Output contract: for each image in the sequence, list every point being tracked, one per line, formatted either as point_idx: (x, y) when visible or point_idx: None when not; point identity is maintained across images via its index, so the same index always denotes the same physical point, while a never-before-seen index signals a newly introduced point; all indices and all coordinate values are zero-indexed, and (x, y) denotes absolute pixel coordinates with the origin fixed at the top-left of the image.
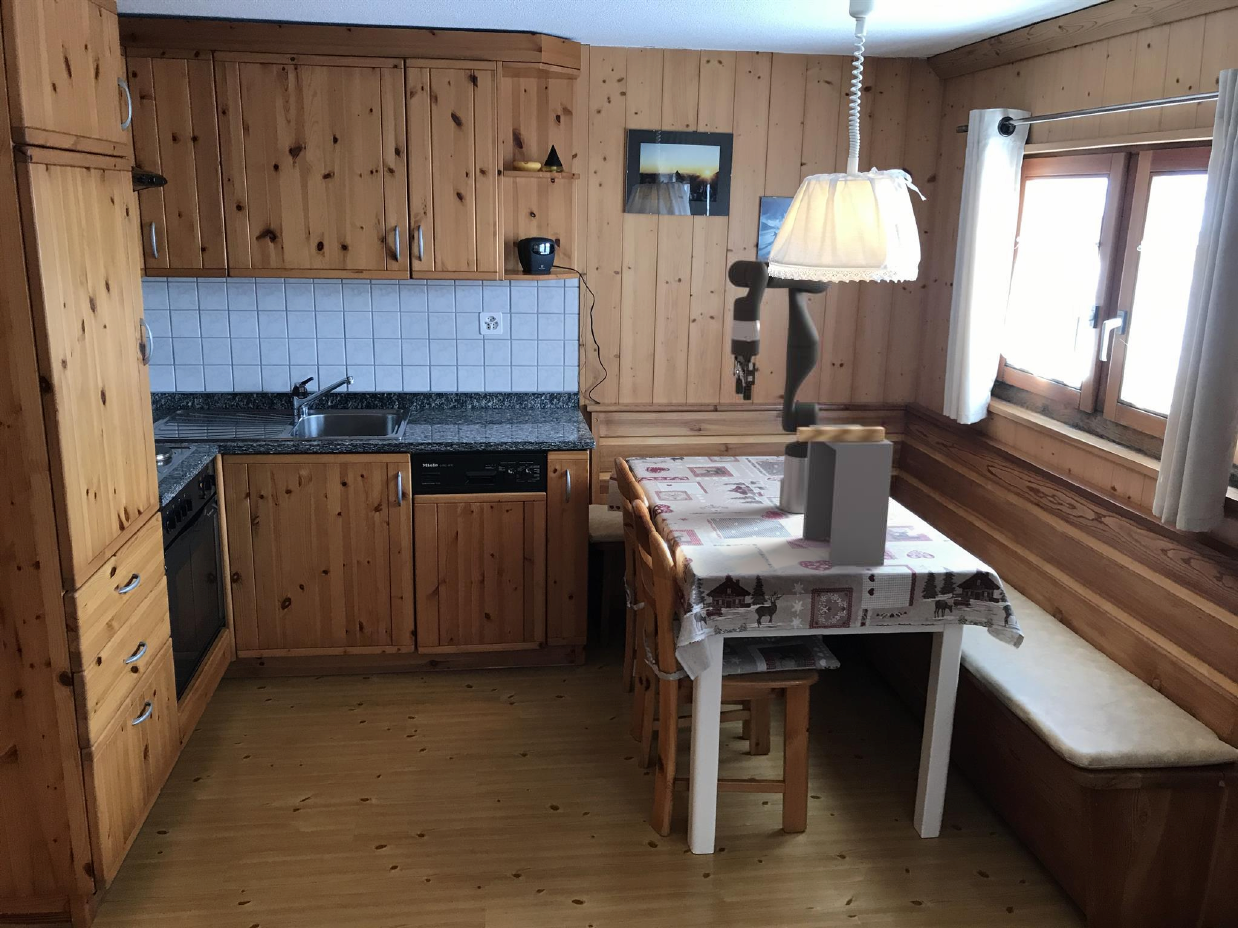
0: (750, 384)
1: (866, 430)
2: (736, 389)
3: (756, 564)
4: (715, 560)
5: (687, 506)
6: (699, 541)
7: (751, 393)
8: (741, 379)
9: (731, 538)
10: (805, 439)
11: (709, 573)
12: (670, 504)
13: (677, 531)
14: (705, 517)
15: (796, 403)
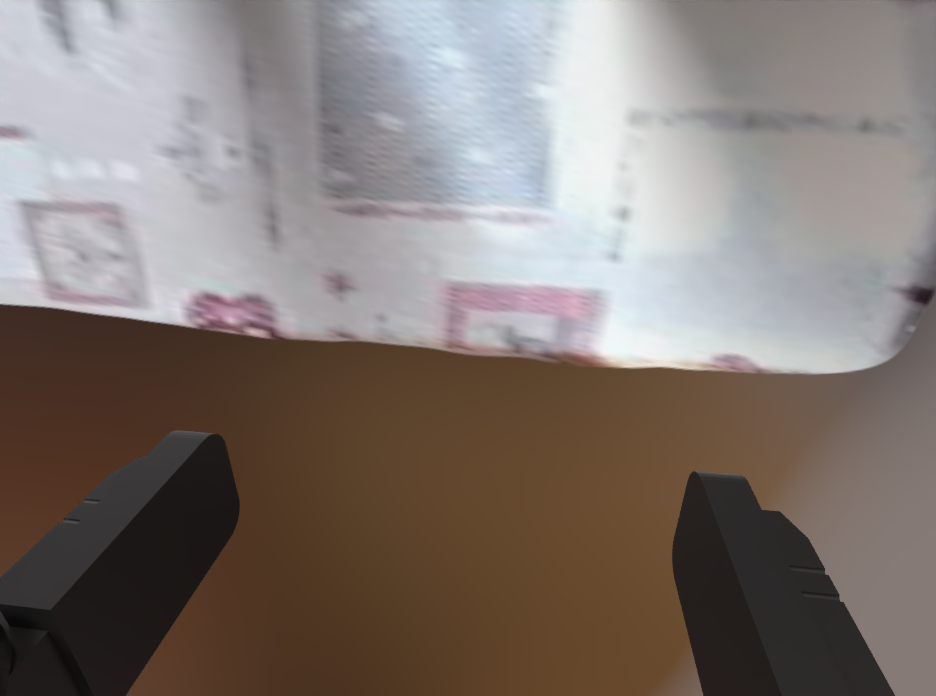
0: None
1: None
2: (201, 565)
3: (847, 173)
4: (760, 293)
5: (198, 239)
6: (567, 293)
7: (783, 557)
8: (31, 675)
9: (553, 183)
10: None
11: (868, 339)
12: (185, 286)
13: (461, 330)
14: (317, 211)
15: None
